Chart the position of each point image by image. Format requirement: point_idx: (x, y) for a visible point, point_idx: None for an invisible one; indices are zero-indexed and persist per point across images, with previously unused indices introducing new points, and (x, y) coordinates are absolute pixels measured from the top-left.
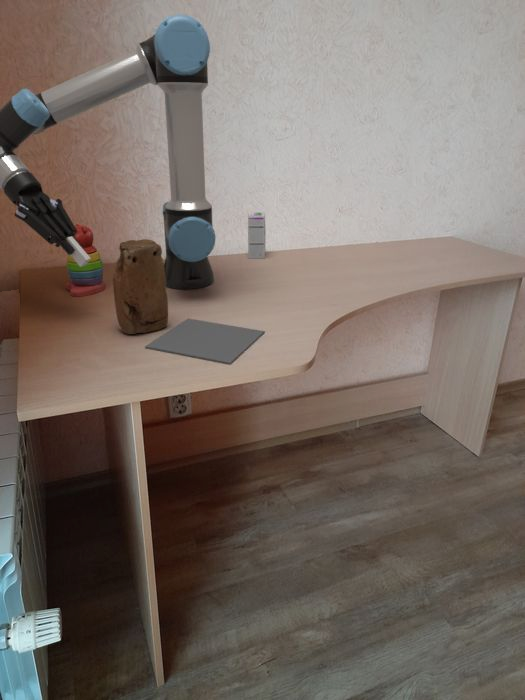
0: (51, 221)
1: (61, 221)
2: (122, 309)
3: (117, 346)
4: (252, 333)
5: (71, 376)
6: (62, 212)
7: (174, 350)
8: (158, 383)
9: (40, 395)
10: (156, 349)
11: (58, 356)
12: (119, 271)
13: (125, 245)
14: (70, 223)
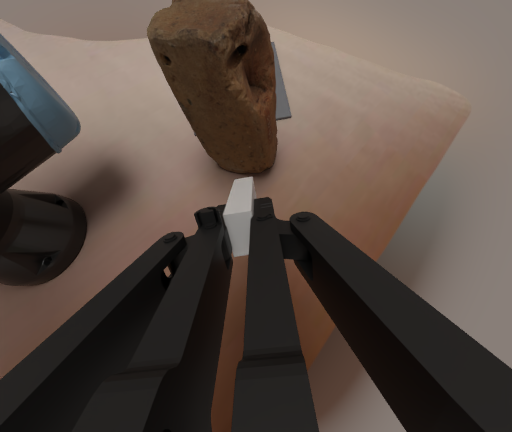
0: (261, 284)
1: (182, 281)
2: (276, 132)
3: (307, 143)
4: None
5: (396, 123)
6: (58, 361)
7: (281, 88)
8: (344, 60)
9: (446, 114)
10: (288, 104)
11: (375, 174)
12: (253, 97)
13: (238, 9)
14: (142, 267)
